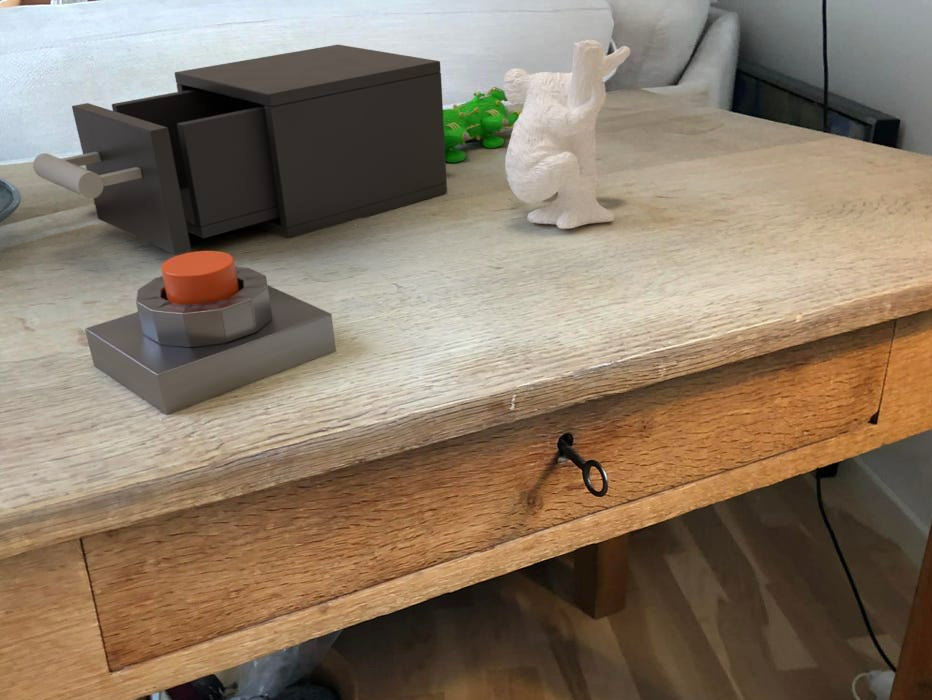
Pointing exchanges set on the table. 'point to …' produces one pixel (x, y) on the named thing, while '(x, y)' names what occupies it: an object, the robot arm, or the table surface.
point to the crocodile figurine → (476, 122)
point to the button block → (208, 342)
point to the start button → (200, 277)
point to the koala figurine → (560, 136)
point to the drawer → (172, 166)
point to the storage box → (341, 130)
